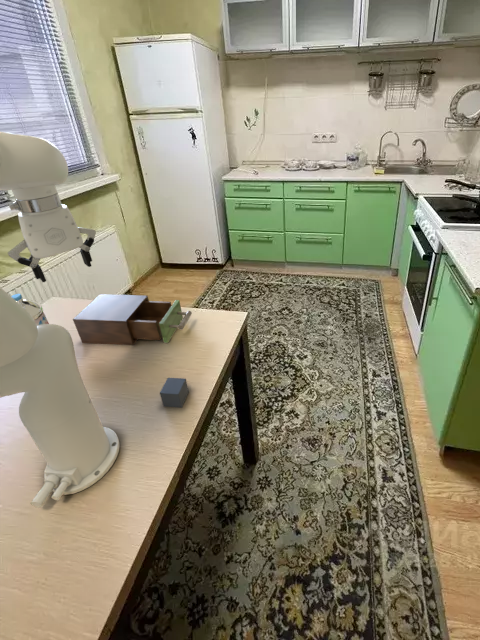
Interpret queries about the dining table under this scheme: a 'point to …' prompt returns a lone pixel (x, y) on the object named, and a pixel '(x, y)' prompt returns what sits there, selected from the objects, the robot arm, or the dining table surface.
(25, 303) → the water bottle
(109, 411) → the dining table surface
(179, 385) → the block
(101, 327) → the cabinet
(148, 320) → the drawer
